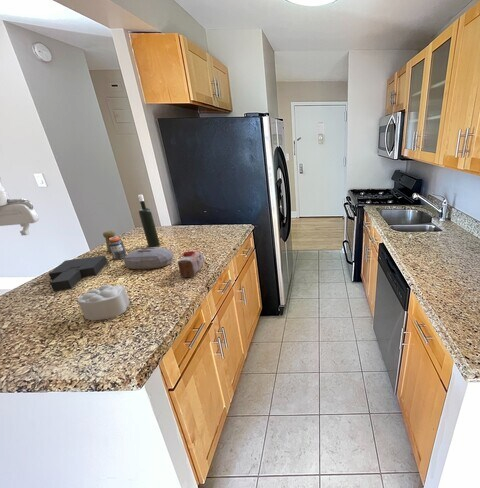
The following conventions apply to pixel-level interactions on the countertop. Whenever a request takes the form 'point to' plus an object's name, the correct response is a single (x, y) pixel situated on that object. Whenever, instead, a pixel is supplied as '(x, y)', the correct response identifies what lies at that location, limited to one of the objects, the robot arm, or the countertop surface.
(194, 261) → the food item
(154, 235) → the wine bottle
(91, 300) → the lumpy-topped squat cylinder
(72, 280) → the pad
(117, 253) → the pill bottle
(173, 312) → the countertop surface
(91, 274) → the base pad
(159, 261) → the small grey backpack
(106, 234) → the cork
